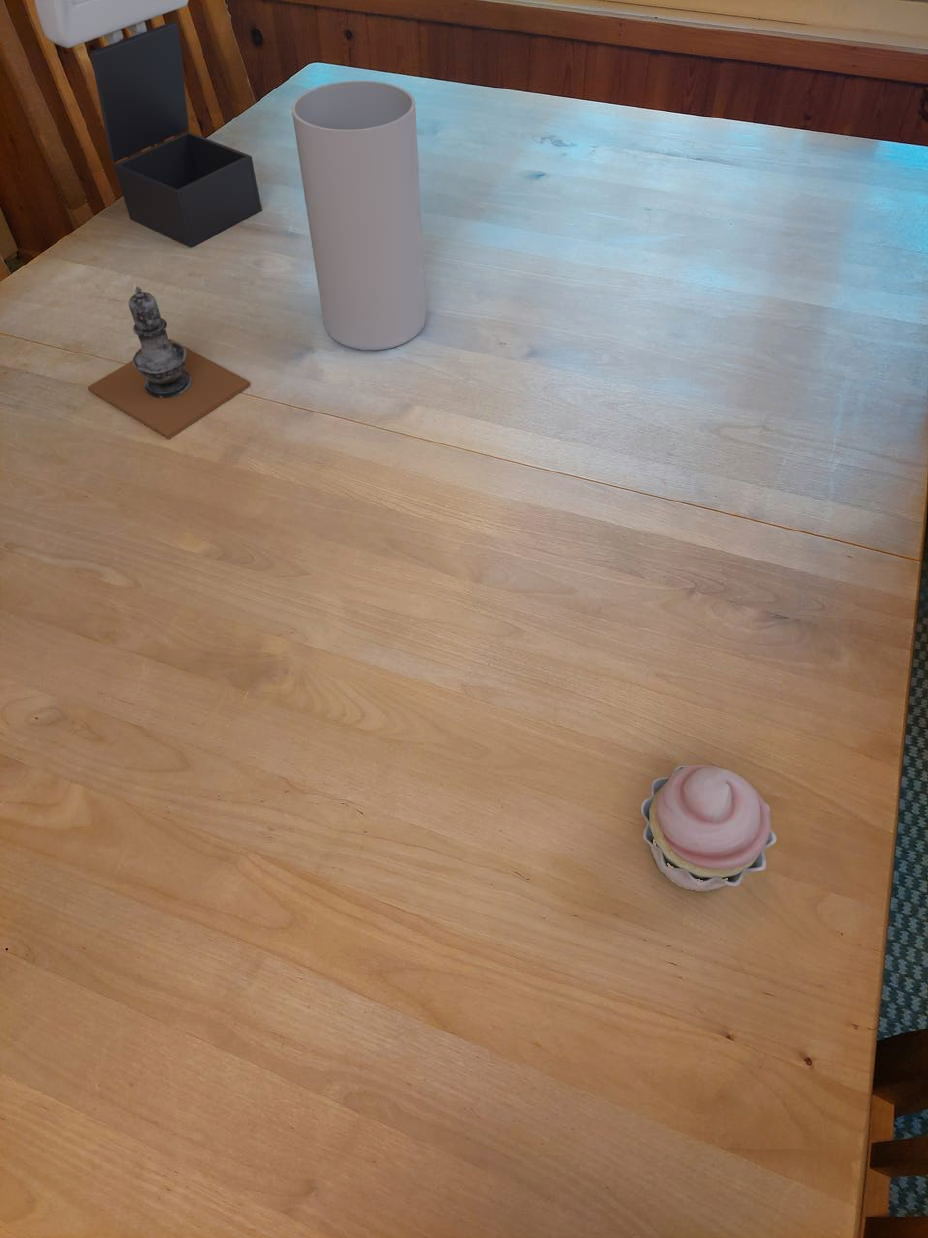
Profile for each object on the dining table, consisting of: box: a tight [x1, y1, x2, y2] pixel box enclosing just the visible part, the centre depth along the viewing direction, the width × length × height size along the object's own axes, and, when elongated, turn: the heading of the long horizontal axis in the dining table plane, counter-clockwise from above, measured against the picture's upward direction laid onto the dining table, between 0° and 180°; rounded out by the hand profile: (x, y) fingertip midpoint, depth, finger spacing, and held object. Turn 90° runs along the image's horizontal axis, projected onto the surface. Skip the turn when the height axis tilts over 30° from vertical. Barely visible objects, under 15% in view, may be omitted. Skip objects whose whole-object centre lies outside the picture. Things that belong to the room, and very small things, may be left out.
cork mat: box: [87, 338, 251, 440], centre depth 102 cm, size 14×12×1 cm
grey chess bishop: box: [128, 286, 192, 398], centre depth 98 cm, size 6×6×12 cm
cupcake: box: [640, 764, 778, 892], centre depth 62 cm, size 9×9×10 cm
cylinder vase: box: [291, 80, 427, 351], centre depth 101 cm, size 12×12×25 cm
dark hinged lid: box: [89, 21, 190, 163], centre depth 119 cm, size 14×13×1 cm
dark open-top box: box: [113, 131, 263, 249], centre depth 126 cm, size 13×13×8 cm
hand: (134, 64), depth 117 cm, fingers closed, pressing on dark hinged lid
